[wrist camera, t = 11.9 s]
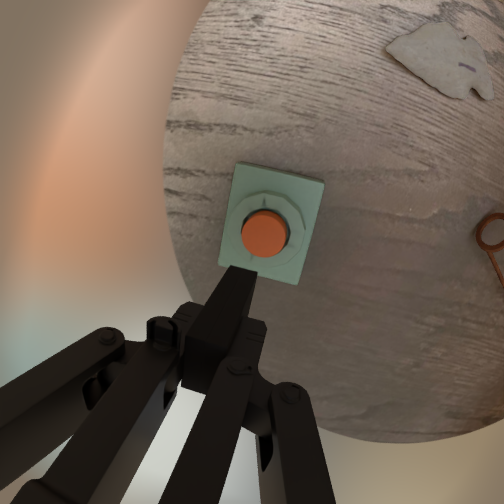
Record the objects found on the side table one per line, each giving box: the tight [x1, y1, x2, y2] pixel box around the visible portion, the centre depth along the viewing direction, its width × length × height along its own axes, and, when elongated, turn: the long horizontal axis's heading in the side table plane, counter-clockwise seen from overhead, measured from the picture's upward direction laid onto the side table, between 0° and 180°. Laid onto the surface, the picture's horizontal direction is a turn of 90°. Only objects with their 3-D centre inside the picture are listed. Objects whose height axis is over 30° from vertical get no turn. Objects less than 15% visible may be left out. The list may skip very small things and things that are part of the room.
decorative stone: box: [385, 22, 494, 100], centre depth 20 cm, size 8×12×3 cm
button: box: [241, 211, 287, 258], centre depth 26 cm, size 4×4×2 cm
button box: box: [218, 162, 325, 285], centre depth 28 cm, size 8×10×4 cm
